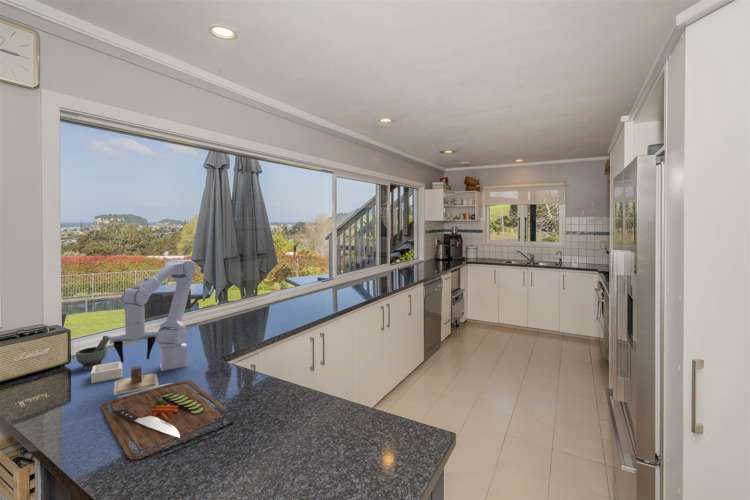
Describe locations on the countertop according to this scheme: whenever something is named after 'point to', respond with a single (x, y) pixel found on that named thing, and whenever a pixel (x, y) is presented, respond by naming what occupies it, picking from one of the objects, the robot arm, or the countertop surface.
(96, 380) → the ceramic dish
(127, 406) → the chopping board
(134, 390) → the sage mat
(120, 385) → the birch lid
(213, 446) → the countertop surface
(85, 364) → the mortar and pestle
